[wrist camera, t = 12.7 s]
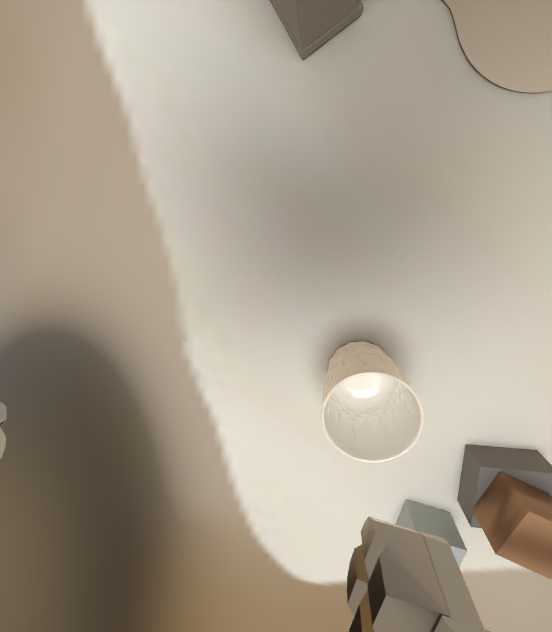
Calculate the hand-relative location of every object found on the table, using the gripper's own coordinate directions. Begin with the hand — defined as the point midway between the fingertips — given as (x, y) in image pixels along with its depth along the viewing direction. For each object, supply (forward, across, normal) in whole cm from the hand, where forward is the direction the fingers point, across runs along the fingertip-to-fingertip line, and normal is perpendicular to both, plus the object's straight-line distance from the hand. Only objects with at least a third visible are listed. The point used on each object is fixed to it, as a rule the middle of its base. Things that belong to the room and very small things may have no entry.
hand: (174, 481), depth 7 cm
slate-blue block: (+29, -21, +23) cm, 43 cm away
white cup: (+29, -9, +7) cm, 32 cm away
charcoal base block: (+30, -26, +14) cm, 42 cm away
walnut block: (+26, -26, +14) cm, 39 cm away
